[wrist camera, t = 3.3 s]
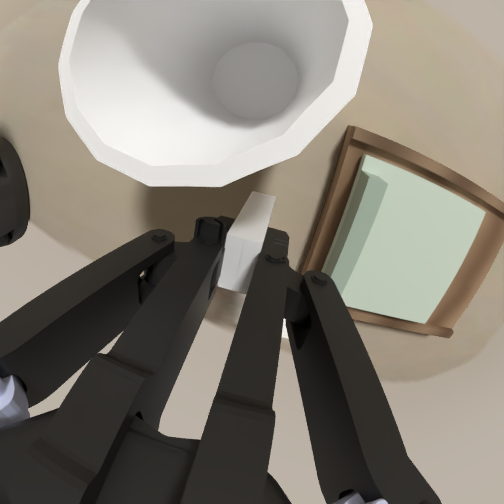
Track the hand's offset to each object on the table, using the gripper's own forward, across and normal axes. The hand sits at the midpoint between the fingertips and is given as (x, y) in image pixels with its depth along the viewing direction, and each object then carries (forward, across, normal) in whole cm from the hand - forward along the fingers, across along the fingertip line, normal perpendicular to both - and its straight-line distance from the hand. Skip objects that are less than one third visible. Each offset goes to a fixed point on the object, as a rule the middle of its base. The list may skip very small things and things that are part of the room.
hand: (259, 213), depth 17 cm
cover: (+1, +11, 0) cm, 11 cm away
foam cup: (+4, -3, +8) cm, 10 cm away
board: (+4, +13, 0) cm, 13 cm away
